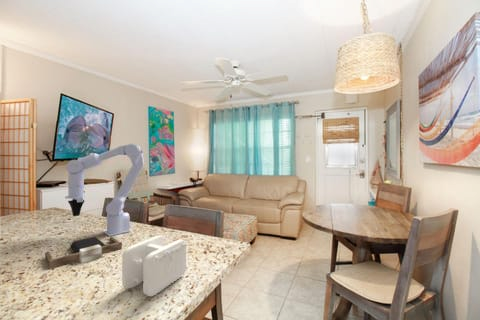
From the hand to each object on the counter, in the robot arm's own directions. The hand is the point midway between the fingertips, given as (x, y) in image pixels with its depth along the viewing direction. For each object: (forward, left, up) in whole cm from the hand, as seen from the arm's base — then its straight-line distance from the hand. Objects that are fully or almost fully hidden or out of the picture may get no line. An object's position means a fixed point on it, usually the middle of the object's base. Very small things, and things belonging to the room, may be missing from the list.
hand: (76, 215), depth 102 cm
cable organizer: (-7, +63, -10) cm, 64 cm away
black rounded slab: (+1, +21, -10) cm, 23 cm away
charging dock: (+2, +26, -9) cm, 28 cm away
